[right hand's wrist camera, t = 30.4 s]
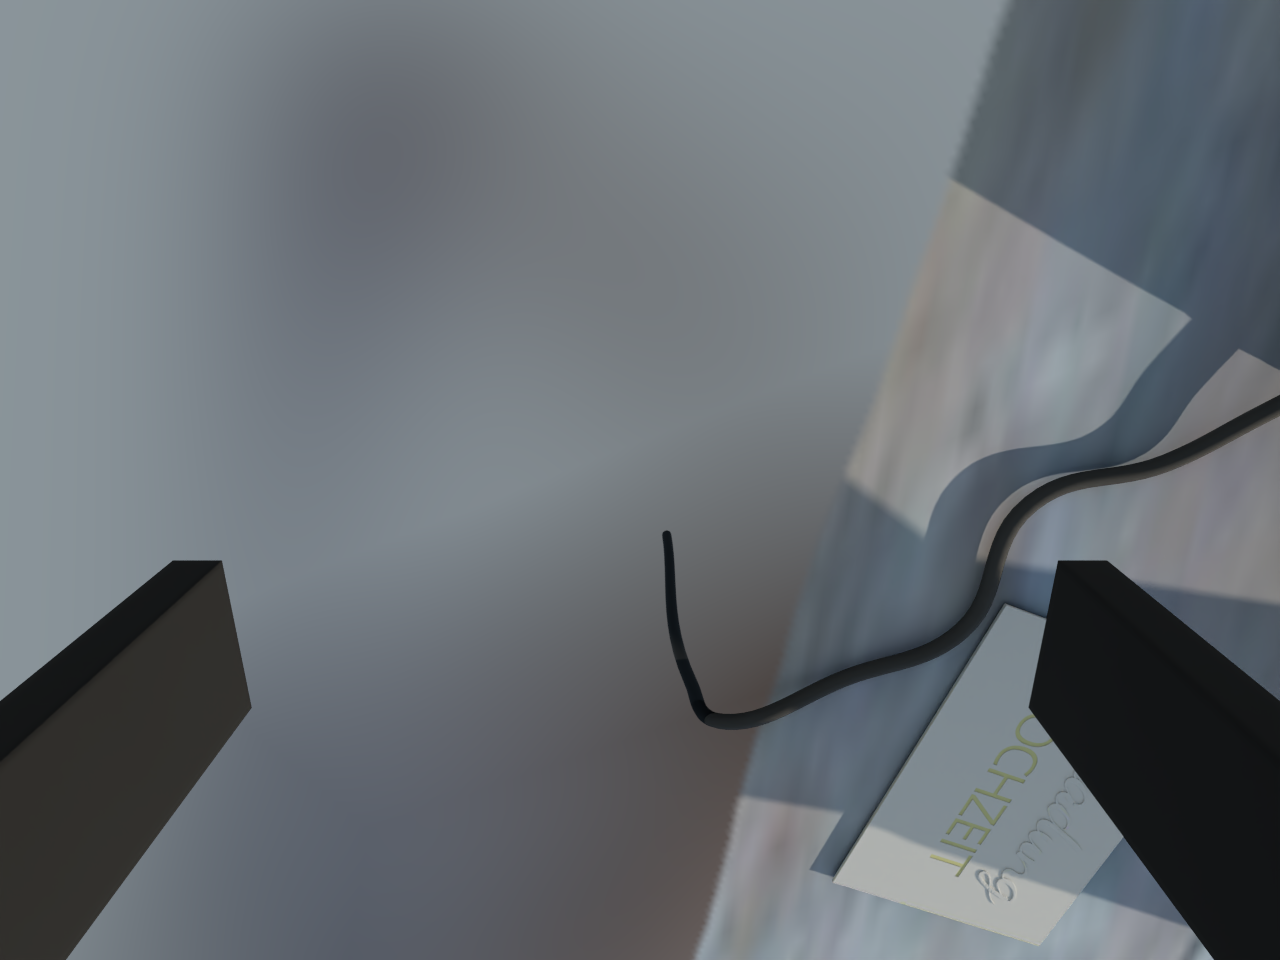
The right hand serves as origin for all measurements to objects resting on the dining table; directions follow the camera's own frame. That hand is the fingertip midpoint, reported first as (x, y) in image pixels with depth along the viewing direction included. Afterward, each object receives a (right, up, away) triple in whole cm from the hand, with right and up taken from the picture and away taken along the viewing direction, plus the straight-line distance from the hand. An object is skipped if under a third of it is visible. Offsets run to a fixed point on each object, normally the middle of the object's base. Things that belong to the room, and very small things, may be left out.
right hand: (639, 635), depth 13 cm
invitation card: (+23, -16, +36) cm, 45 cm away
